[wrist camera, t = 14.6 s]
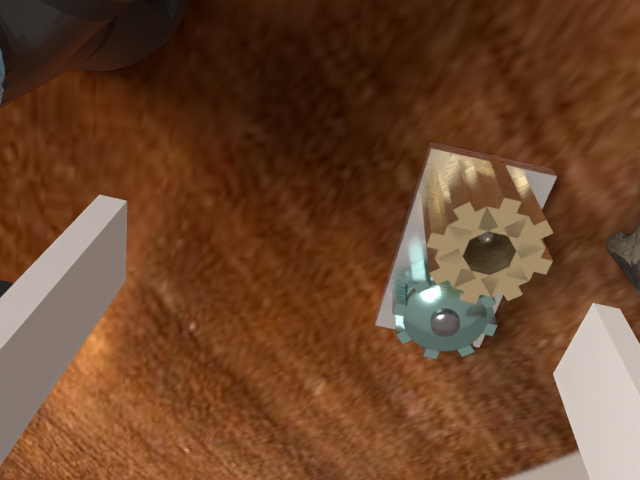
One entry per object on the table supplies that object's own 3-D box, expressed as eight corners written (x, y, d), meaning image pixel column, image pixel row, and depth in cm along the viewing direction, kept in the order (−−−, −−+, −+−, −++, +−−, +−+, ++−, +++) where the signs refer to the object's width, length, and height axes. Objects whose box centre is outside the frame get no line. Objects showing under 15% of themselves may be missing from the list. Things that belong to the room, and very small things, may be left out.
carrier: (375, 315, 55) (374, 361, 50) (430, 141, 46) (436, 175, 40) (477, 337, 55) (487, 386, 50) (552, 168, 46) (575, 206, 40)
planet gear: (401, 190, 47) (403, 233, 41) (504, 137, 43) (523, 175, 37) (451, 269, 50) (460, 320, 44) (550, 225, 47) (574, 273, 41)
